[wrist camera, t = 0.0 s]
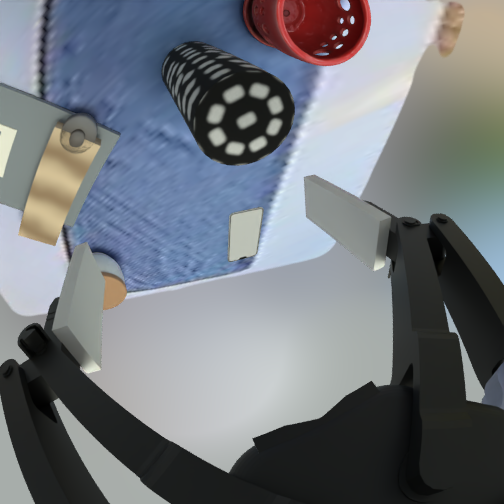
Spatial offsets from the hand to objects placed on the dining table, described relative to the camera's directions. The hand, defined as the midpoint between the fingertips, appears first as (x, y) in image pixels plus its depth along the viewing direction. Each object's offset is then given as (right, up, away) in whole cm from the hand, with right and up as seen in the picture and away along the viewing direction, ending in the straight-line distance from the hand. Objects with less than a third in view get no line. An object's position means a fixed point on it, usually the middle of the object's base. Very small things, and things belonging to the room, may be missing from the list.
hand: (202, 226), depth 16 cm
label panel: (-30, +12, +13) cm, 35 cm away
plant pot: (+6, +32, +13) cm, 35 cm away
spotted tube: (-5, +23, +16) cm, 29 cm away
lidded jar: (-28, -3, +35) cm, 44 cm away
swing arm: (-25, +9, +16) cm, 31 cm away
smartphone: (+1, +2, +47) cm, 47 cm away
